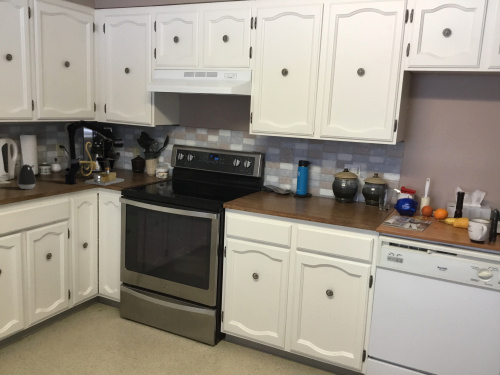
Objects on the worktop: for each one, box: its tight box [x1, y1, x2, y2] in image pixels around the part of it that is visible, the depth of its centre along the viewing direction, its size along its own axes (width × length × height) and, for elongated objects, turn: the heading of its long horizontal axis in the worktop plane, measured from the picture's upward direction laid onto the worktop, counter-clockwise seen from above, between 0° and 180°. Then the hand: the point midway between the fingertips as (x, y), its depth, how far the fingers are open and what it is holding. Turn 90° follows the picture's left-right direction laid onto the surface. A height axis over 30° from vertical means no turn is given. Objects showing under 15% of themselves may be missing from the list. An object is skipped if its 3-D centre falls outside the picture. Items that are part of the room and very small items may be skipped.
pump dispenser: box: [17, 163, 37, 191], centre depth 280 cm, size 10×10×15 cm
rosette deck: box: [84, 171, 125, 186], centre depth 318 cm, size 22×16×6 cm
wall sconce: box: [78, 141, 98, 177], centre depth 337 cm, size 14×10×25 cm
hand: (107, 170), depth 320 cm, fingers open, 9 cm apart
